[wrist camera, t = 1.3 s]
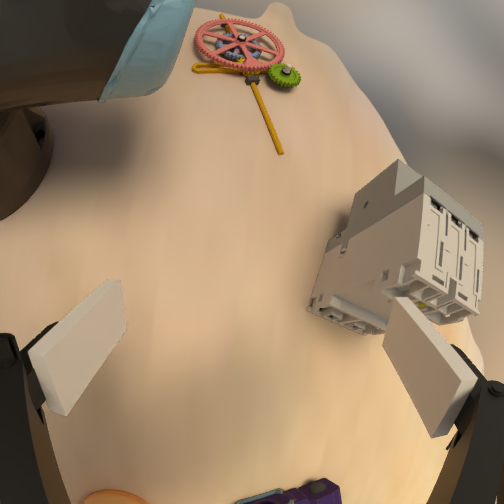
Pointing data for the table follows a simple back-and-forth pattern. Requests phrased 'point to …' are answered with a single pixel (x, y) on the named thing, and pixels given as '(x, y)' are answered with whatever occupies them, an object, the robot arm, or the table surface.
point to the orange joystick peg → (113, 498)
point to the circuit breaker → (401, 256)
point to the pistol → (300, 495)
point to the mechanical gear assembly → (246, 60)
